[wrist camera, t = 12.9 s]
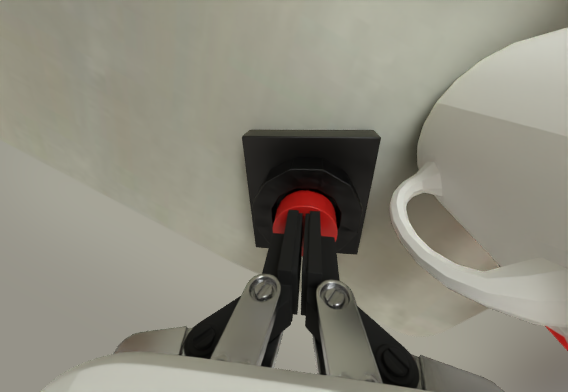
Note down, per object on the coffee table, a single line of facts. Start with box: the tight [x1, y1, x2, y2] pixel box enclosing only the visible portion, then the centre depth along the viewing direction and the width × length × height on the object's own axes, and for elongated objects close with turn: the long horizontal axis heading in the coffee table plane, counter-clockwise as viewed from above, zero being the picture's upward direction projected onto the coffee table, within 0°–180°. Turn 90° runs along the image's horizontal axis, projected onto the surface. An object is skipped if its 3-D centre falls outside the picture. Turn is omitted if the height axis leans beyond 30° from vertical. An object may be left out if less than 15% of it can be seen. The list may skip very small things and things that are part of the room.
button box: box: [242, 130, 381, 254], centre depth 14 cm, size 9×8×4 cm
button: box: [273, 190, 338, 256], centre depth 13 cm, size 4×4×2 cm
